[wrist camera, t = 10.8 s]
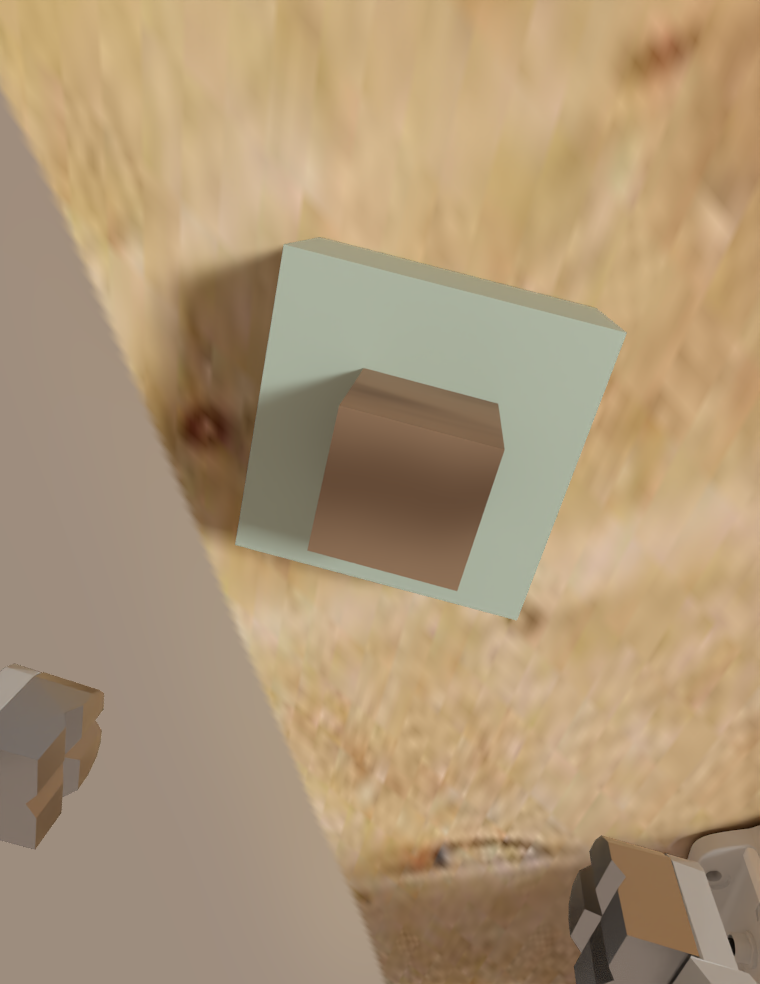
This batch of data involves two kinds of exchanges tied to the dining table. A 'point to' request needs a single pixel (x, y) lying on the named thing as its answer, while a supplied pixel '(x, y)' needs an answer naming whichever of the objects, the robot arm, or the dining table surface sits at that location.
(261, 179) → the dining table surface
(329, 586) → the dining table surface
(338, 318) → the block
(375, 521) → the walnut cube
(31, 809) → the robot arm
